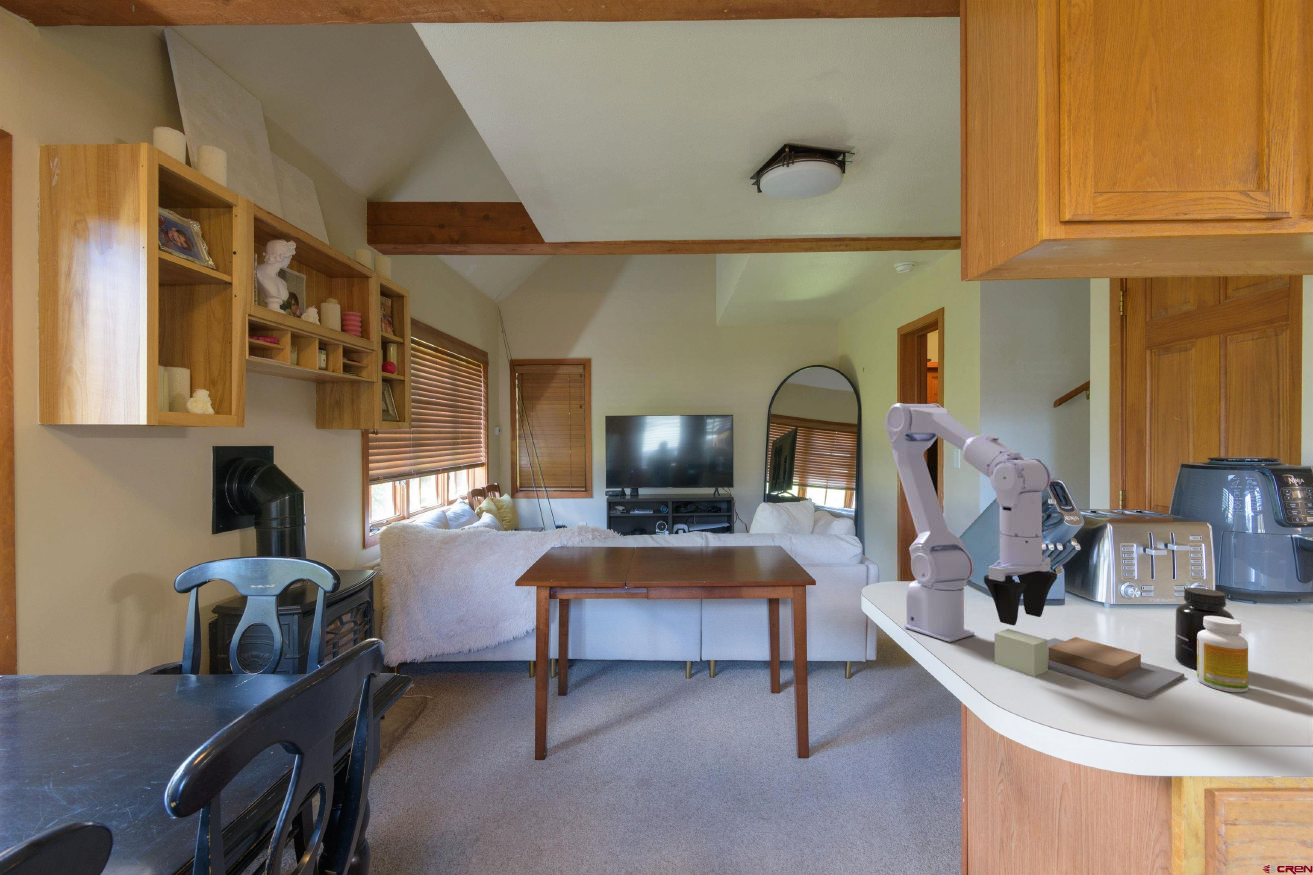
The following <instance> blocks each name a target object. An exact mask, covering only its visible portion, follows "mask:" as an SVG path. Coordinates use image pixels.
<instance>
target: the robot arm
mask: <svg viewBox="0 0 1313 875" xmlns="http://www.w3.org/2000/svg"><path fill="white" fill-rule="evenodd" d="M883 423H884V427H885V430H886V434H887V436H888V440H889V444H890V446H891V451H892V457H893V460H894V462H895V466H896V469H897V473H898V476H899V479H900V482H901V485H902V489H903V493H904V496H905V498H906V501H907V506H908V508H909V512H910V514H911V518H912V520H913V525H914V528H915V531H916V534H917V537H916V539H915V540H914V541H913V542H912V543H911V545H910V546H909V548H908V549H909V555H910V568H911V573H912V575H913V577H914V578H915V580H912V581H911V583H909V585H908V587H907V590H906V624H904V625H903V627H904V628H905V629H907V630H911V631H915V632H916V633H917V632H918V633H921V634H924V635H927V636H930V637H933V638H936V639H939V640H942V641H945V642H954V641H957V640H960V639H963V638H967V637H970V636H973V635H975V631H973V630H971V629H968V628H965V587H967V586H968V581H970V580H971V579H972V577H973V576H974V574H975V562H974V559H973V558H972V555H971V554H970V553H969V552H968V550H967V549H966V547H965V545H964V543H963V540H962V539H961V538H959V536H957V535H955V534H954V533H952V531H949V529H948V526H947V523H946V522H947V521H946V520H945V517H944V514H943V510H942V508H941V504H940V501H939V498H938V495H937V492H936V489H935V486H934V483H933V480H932V477H931V474H930V471H929V468H928V466H927V465H928V464H927V462H926V459H925V457H924V454H925V452H926V450H928V449H929V448H930V447H932V445H933V443H934V442H935V441H936V440H937V438H938V437H940V438H941V439H943V440H944V441H946V442H948V443H949V444H951V445H952V446H954V447H956V448H958V449H960V451H962V452H963V453H962V454H963V459H964V461H965V462H966V463H968V464H969V465H970V466H972V467H973V468H974V469H976V470H977V471H979V472H980V473H981V474H983V475H984V476H985V477H987V478H988V479H989V481H990V485H991V487H992V489H993V490H994V492H995V496H996V502H997V504H998V506H999V559H998V560H997V561H996V562H995V563H994V564H992V565H989V566H988V574H987V575H983V583H984V584H985V586H986V587H987V589H988V591H989V592H990V595H991V597H992V600H993V602H994V606H995V608H996V612H997V615H998V620H999V623H1001V624H1005V625H1009V626H1013V627H1014V626H1016V624H1017V622H1018V618H1019V607H1020V602H1021V598H1022V602H1023V609H1024V612H1025V614H1026V615H1028V616H1033V617H1037V618H1040V617H1042V615H1043V613H1044V608H1045V605H1046V602H1047V598H1048V595H1049V593H1050V591H1051V588H1052V587H1053V585H1054V583H1055V582H1056V580H1057V579H1058V574H1057V573H1056V572H1053V571H1050V570H1051V557H1047V556H1043V543H1042V542H1043V532H1042V531H1043V529H1042V528H1043V515H1042V511H1043V510H1042V508H1043V507H1042V506H1043V504H1042V502H1043V501H1042V495H1043V493H1045V492H1046V491H1047V490H1048V489H1049V487H1050V486H1051V482H1052V479H1051V471H1050V469H1049V468H1048V466H1047V465H1046V464H1045V463H1044V462H1043V461H1042V460H1041V459H1040V458H1036V457H1030V458H1025V457H1023V456H1021V452H1019V451H1018V450H1017V449H1014V450H1012V449H1011V448H1009V447H1008V446H1006V445H1004V444H1003V443H1001V442H1000V441H999V439H1000V437H999V436H997V435H995V434H979V435H977V434H975V433H974V432H973V431H971V430H970V429H968V428H967V427H966V426H965V425H964V424H963V423H961V422H960V421H959V420H957V419H955V418H954V417H953V416H952V415H950V413H949V409H948V408H945V407H942V405H940V404H939V403H934V402H933V403H929V404H928V403H903V402H902V403H901V402H898V403H894V404H892V405H891V406H890V408H889V409H888V411H887V414H886V417H885V420H884V422H883ZM1014 577H1017V578H1018V581H1016V580H1015V579H1014Z"/></svg>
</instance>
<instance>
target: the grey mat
mask: <svg viewBox="0 0 1313 875" xmlns="http://www.w3.org/2000/svg"><path fill="white" fill-rule="evenodd" d="M1047 640H1048V670H1049V669H1050V670H1053V671H1055V672H1059V673H1062V674H1065V675H1068V676H1070V677H1074V678H1077V679H1081V680H1084V681H1088V682H1090V683H1094V684H1097V685H1099V686H1103V687H1106V688H1108V689H1112V690H1115V689H1116V690H1115V691H1118V692H1122V693H1125V694H1128V695H1130V696H1134V697H1137V698H1139V699H1143V700H1146V699H1148V698H1150V697H1152V696H1153V695H1155V694H1157V693H1159V692H1160V691H1163V689H1165V688H1167V687H1169V686H1171V685H1173V684H1175V683H1176V682H1178V681H1180V680H1181V679H1183V678H1185V673H1183V672H1179V671H1176V670H1172V669H1168V668H1165V667H1161V666H1158V665H1154V664H1152V663H1147V662H1144V661H1141V667H1140V668H1138V669H1136V670H1134V671H1132V672H1130V673H1128V674H1126V675H1124V676H1122V677H1120V678H1117V679H1115V680H1114V679H1110V678H1107V677H1104V676H1101V675H1097V674H1094V673H1091V672H1087V671H1084V670H1081V669H1078V668H1074V667H1071V666H1068V665H1065V664H1061V663H1058V662H1055V661H1052V660H1049V647H1051V646H1054V645H1056V644H1059V643H1061V642H1064V641H1065V640H1063V639H1059V638H1056V637H1052V638H1050V639H1047Z"/></svg>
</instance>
